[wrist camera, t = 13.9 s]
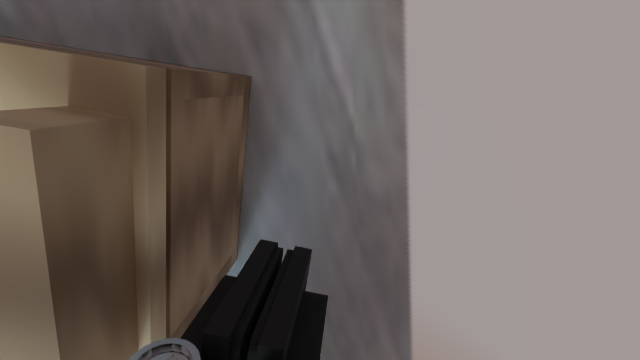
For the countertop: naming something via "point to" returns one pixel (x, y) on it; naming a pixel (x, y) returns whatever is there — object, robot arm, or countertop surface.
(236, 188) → the open wooden box
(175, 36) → the countertop surface
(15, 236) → the lid
